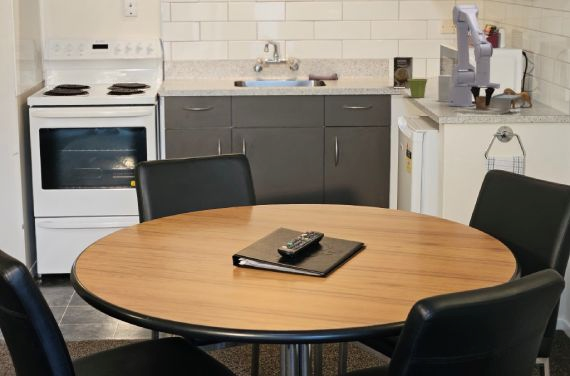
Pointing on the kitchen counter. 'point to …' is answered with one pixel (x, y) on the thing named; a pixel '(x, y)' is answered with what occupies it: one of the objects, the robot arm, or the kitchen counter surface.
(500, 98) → the cover
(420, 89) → the plant pot
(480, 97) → the block
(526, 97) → the lion figurine
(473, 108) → the puzzle board
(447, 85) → the skincare box
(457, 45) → the robot arm
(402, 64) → the coffee box
